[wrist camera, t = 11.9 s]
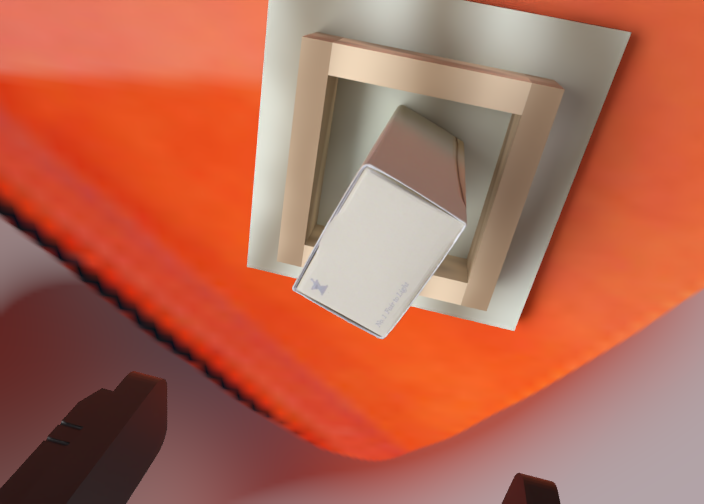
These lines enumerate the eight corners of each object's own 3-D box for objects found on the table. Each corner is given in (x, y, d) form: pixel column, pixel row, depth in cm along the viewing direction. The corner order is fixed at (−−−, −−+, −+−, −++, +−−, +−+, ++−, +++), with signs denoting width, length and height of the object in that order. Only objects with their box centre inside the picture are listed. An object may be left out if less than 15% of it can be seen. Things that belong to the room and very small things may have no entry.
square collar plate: (253, 258, 36) (229, 289, 32) (279, -36, 27) (251, -40, 24) (512, 320, 34) (519, 360, 31) (624, 30, 26) (652, 37, 22)
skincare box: (408, 226, 31) (383, 348, 21) (344, 189, 31) (286, 294, 20) (468, 138, 28) (475, 227, 18) (398, 96, 28) (363, 161, 17)
